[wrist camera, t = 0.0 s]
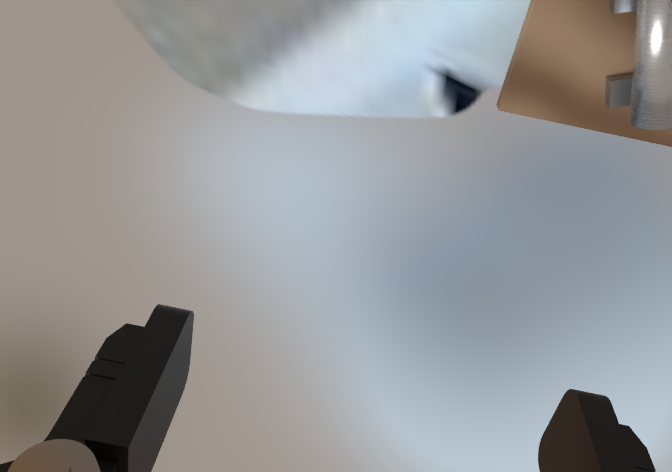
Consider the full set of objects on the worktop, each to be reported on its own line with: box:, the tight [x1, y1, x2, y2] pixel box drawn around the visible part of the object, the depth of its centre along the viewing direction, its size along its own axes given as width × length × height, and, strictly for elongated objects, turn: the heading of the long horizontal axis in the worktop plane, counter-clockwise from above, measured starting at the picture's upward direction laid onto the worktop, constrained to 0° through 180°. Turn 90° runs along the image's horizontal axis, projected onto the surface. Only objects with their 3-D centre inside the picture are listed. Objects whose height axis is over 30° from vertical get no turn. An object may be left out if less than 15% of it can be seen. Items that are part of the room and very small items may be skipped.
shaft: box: [605, 0, 672, 130], centre depth 34 cm, size 9×4×4 cm, turn 10°
